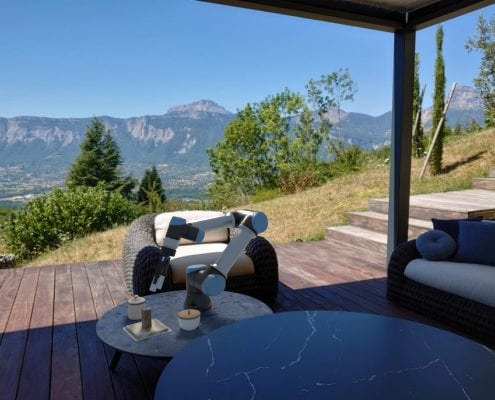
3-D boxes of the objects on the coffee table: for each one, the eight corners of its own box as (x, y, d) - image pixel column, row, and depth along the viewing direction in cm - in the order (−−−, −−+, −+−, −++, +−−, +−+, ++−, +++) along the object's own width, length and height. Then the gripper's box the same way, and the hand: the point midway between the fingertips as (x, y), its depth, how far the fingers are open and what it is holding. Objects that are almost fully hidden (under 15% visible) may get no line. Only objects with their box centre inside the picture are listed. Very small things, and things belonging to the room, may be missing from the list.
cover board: (155, 320, 206) (154, 301, 205) (168, 330, 194) (167, 309, 193) (126, 328, 197) (125, 307, 196) (137, 339, 185) (136, 317, 184)
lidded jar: (202, 324, 202) (202, 306, 201) (198, 334, 191) (197, 314, 190) (181, 324, 203) (180, 305, 202) (175, 333, 192) (175, 314, 191)
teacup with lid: (149, 316, 213) (148, 294, 211) (135, 322, 206) (134, 299, 204) (135, 311, 220) (134, 290, 219) (121, 316, 213) (120, 295, 212)
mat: (156, 319, 208) (156, 318, 208) (172, 331, 194) (172, 330, 194) (121, 329, 198) (121, 328, 198) (135, 342, 183) (135, 341, 183)
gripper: (166, 245, 212) (153, 285, 209) (157, 244, 187) (141, 289, 184) (180, 249, 211) (167, 289, 209) (172, 249, 187) (157, 294, 184)
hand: (155, 289), depth 196 cm, fingers open, 13 cm apart
